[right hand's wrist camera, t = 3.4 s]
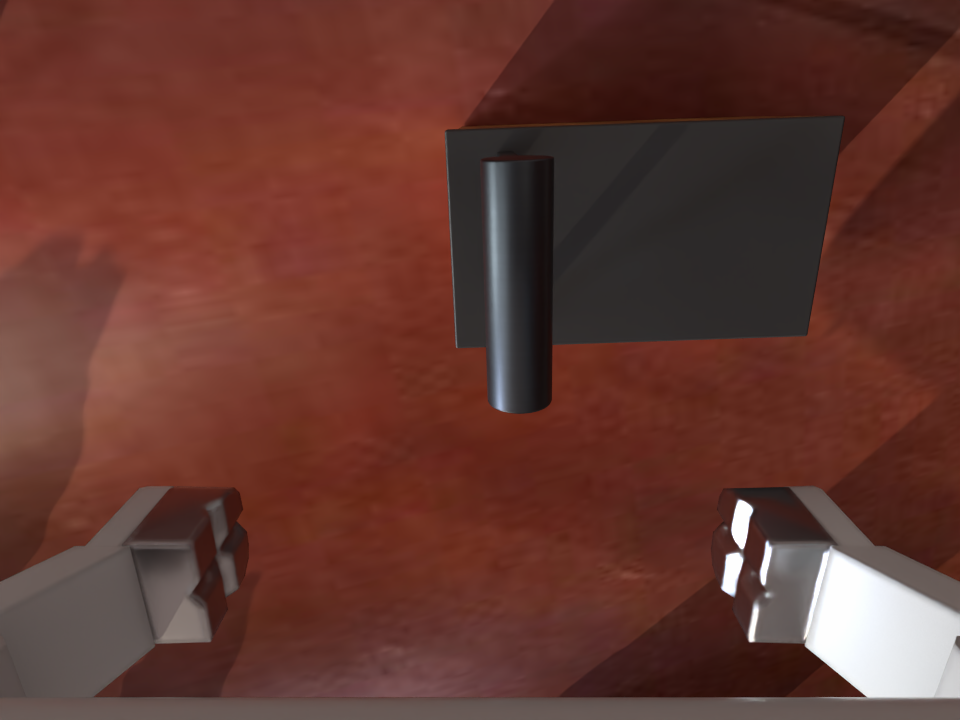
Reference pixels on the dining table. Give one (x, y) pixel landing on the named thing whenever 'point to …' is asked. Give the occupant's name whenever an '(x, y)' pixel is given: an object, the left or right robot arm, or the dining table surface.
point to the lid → (632, 237)
